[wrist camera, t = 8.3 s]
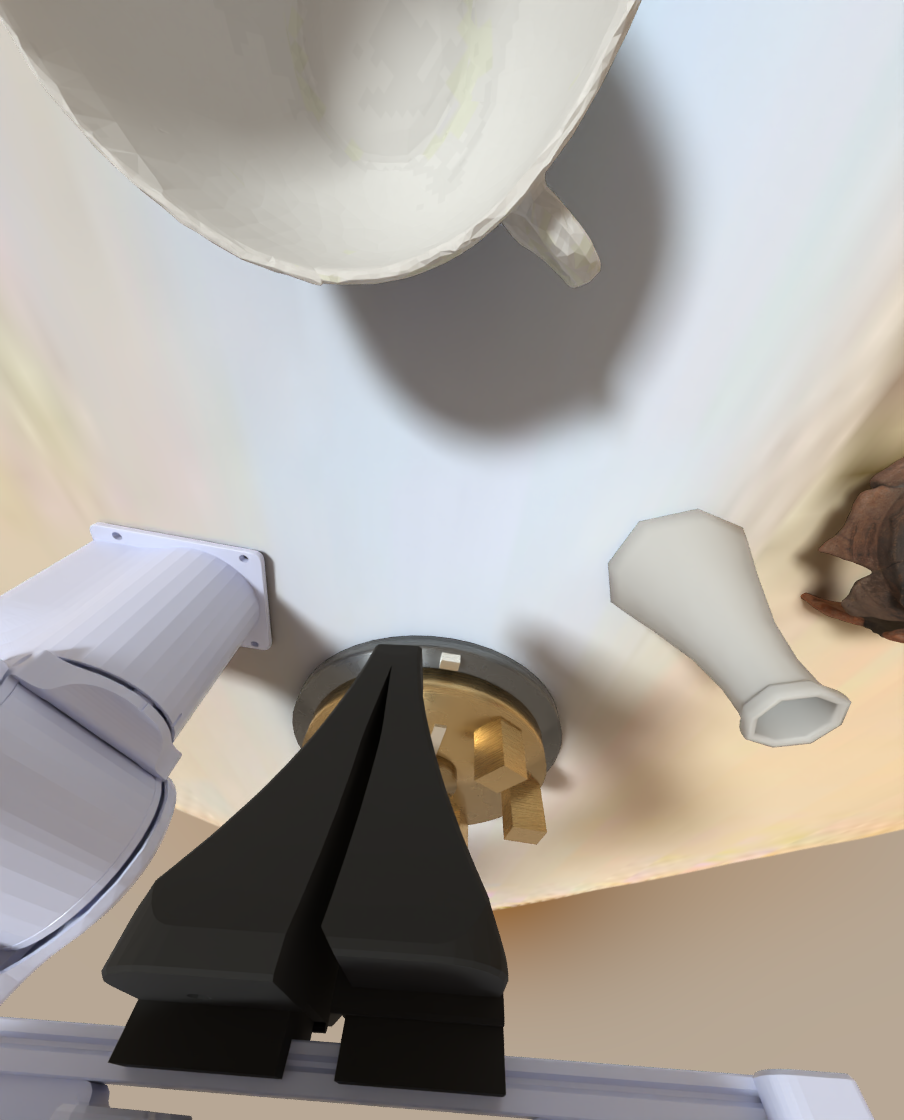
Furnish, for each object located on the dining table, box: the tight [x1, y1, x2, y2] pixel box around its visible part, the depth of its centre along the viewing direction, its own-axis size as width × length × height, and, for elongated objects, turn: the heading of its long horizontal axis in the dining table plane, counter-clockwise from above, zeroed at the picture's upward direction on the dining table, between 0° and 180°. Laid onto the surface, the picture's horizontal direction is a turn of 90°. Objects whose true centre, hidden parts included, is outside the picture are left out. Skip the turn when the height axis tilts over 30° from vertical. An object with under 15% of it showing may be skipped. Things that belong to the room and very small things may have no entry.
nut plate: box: [293, 636, 562, 772], centre depth 30 cm, size 21×21×2 cm
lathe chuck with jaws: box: [302, 668, 547, 848], centre depth 28 cm, size 18×18×5 cm
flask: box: [608, 509, 851, 747], centre depth 17 cm, size 7×7×10 cm
